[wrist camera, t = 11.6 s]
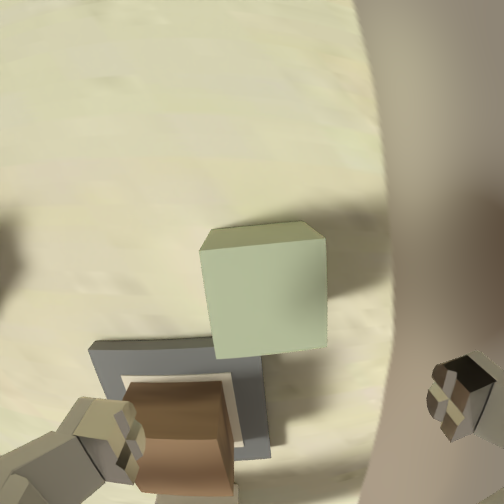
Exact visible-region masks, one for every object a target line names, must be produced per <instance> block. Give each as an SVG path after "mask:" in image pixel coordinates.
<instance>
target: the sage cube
mask: <svg viewBox="0 0 504 504" xmlns="http://www.w3.org/2000/svg"><path fill="white" fill-rule="evenodd" d="M199 254H200V261H201V268H202V275H203V282H204V288H205V295H206V301H207V308H208V314H209V320H210V326H211V332H212V337H213V343H214V349H215V354H216V359H229V358H241V357H252V356H262V355H272V354H280V353H289V352H297V351H304V350H311V349H318V348H325V347H327V259H326V238H325V237H323V236H322V235H321V234H319V233H318V232H317V231H315V230H314V229H313V228H311V227H310V226H309V225H307V224H306V223H305V222H303V221H294V222H283V223H272V224H262V225H251V226H241V227H232V228H222V229H213V230H211V231H210V233H209V234H208V236H207V238H206V240H205V241H204V243H203V245H202V247H201V248H200V250H199Z"/></svg>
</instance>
